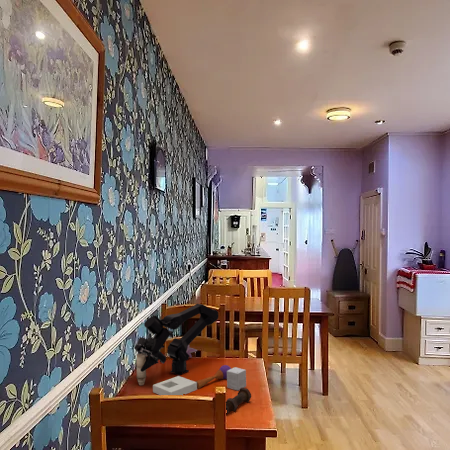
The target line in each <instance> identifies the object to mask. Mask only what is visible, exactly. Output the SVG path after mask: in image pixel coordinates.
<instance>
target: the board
mask: <svg viewBox="0 0 450 450" xmlns="http://www.w3.org/2000/svg"><path fill="white" fill-rule="evenodd" d="M197 390H198V389H197V382H195V381H194V380H192V379H191V380H190V379H188V378H186V377H183V376H180V375H177V376H175V377H172V378H169V379H166V380H164V381H160V382H157V383H155V384H153V385H152V393H153V394H157V395H159V396H161V395H182V396H184V395H183V394H185V395H187V394H189V393H193V392H195V391H197Z"/></svg>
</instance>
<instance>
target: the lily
mask: <svg viewBox="0 0 450 450" xmlns="http://www.w3.org/2000/svg"><path fill="white" fill-rule="evenodd" d="M195 352H198V350H197V349H196V348H194V347H190V344H189V345H188V348H187V351H186V353H188V354H189V358H191V359H192V358H193V357H192V354H191V353H195Z"/></svg>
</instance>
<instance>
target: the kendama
mask: <svg viewBox="0 0 450 450" xmlns="http://www.w3.org/2000/svg"><path fill="white" fill-rule="evenodd" d="M230 369H232V368H231V366H229V365H227V364H223V365H221V367H220V368H219V369H217V371H216V372H215V374H214V375H212V376H209V377H205V378H203V379H199V380H196V381H194V382H197V390H199V389H201V388H202V387H204V386H205V385H207V384H209V383H210V382H212V381H214V380H215V379H217V380H227V371H228V370H230Z"/></svg>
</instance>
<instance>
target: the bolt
mask: <svg viewBox="0 0 450 450" xmlns="http://www.w3.org/2000/svg"><path fill="white" fill-rule="evenodd" d="M251 393H252V392H251V391H250V390H249V388H247V387H244V388H240V390H238V392H237V395H235V396H234V397H233V398H232V397H228V398H227V399H226V401H225V403H226V410H227V414H229V413H230V412H231V411H234V412H235V411H237V409H238V407H239V405H241V404H242V403H249V401H250V400H251V398H252V394H251Z"/></svg>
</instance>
